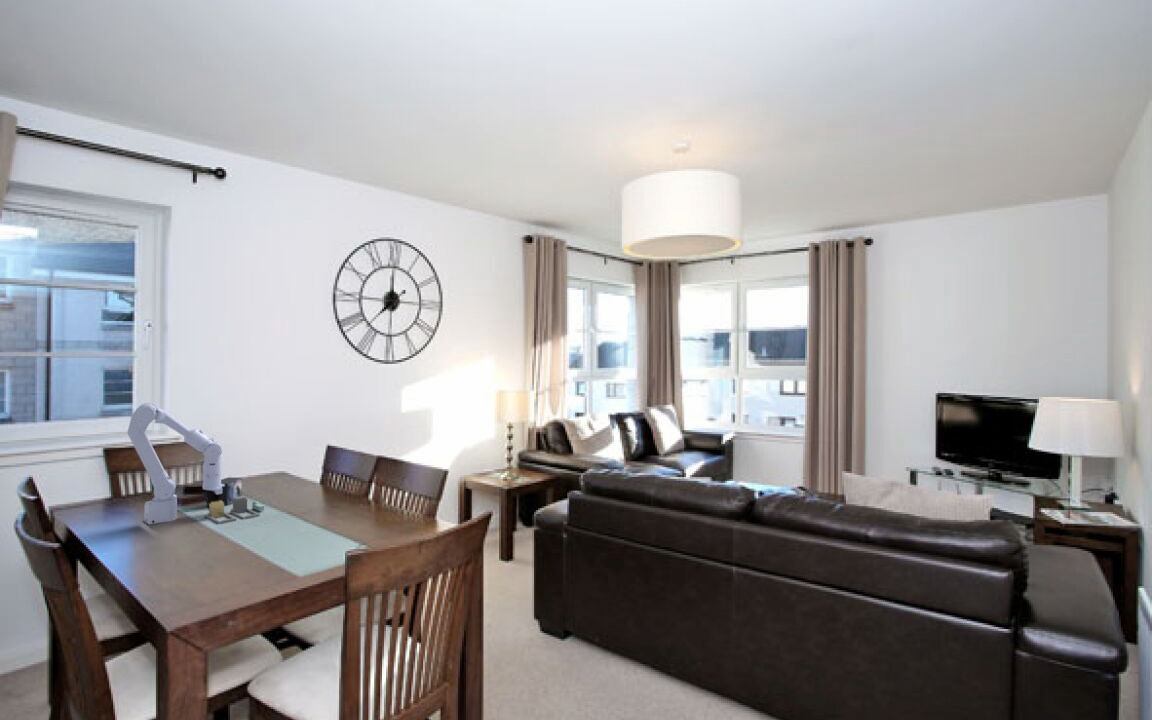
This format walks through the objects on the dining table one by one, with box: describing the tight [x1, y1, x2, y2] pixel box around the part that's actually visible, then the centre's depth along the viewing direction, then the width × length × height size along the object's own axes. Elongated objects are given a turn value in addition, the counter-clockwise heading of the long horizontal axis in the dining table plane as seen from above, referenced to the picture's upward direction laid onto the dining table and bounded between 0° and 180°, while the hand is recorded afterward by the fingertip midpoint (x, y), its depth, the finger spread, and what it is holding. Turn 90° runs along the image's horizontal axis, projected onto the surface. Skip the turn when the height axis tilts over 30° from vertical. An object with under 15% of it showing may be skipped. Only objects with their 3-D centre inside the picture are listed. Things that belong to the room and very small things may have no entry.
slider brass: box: [208, 500, 225, 519], centre depth 218 cm, size 4×3×6 cm
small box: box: [219, 476, 243, 507], centre depth 238 cm, size 11×6×10 cm, turn 179°
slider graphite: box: [232, 495, 248, 514], centre depth 224 cm, size 4×3×6 cm
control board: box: [205, 507, 261, 525], centre depth 219 cm, size 22×16×2 cm
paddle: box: [251, 501, 265, 512], centre depth 226 cm, size 2×7×3 cm, turn 49°
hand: (212, 510), depth 221 cm, fingers closed
